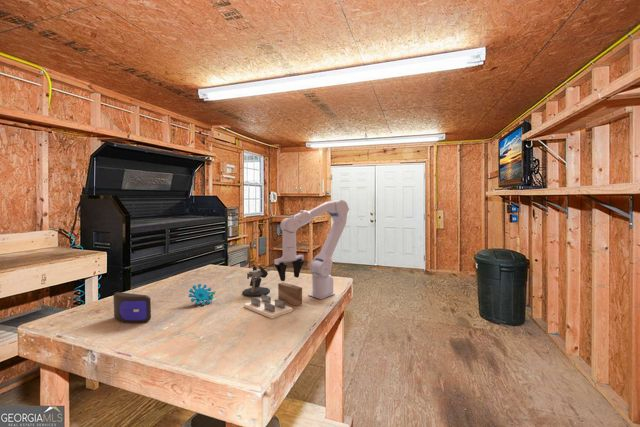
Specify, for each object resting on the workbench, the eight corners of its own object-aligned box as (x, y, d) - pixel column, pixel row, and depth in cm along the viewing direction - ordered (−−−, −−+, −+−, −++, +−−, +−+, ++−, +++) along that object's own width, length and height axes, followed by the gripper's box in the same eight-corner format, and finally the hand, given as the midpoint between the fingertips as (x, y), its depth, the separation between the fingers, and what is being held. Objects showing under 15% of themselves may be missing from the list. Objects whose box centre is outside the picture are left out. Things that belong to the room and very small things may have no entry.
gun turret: (283, 287, 144) (282, 261, 144) (257, 299, 126) (257, 269, 126) (262, 284, 150) (261, 259, 149) (235, 295, 132) (234, 267, 131)
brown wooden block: (284, 297, 128) (284, 281, 128) (303, 303, 120) (303, 287, 120) (278, 299, 126) (278, 283, 126) (297, 306, 118) (297, 289, 117)
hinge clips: (263, 300, 121) (263, 294, 121) (285, 308, 112) (285, 301, 112) (251, 303, 117) (250, 297, 117) (272, 312, 107) (272, 306, 107)
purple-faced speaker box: (105, 320, 104) (104, 294, 104) (118, 316, 108) (117, 291, 108) (141, 326, 99) (140, 298, 99) (152, 321, 104) (151, 294, 103)
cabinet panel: (264, 300, 124) (264, 297, 124) (292, 311, 112) (292, 308, 112) (244, 306, 117) (243, 303, 117) (271, 318, 105) (271, 315, 104)
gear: (191, 305, 115) (188, 283, 121) (186, 312, 118) (183, 291, 123) (218, 302, 122) (214, 282, 128) (213, 310, 125) (209, 289, 131)
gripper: (295, 244, 130) (296, 274, 130) (269, 247, 119) (269, 280, 120) (306, 245, 125) (307, 276, 126) (280, 249, 115) (280, 283, 115)
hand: (289, 278), depth 122 cm, fingers open, 7 cm apart
